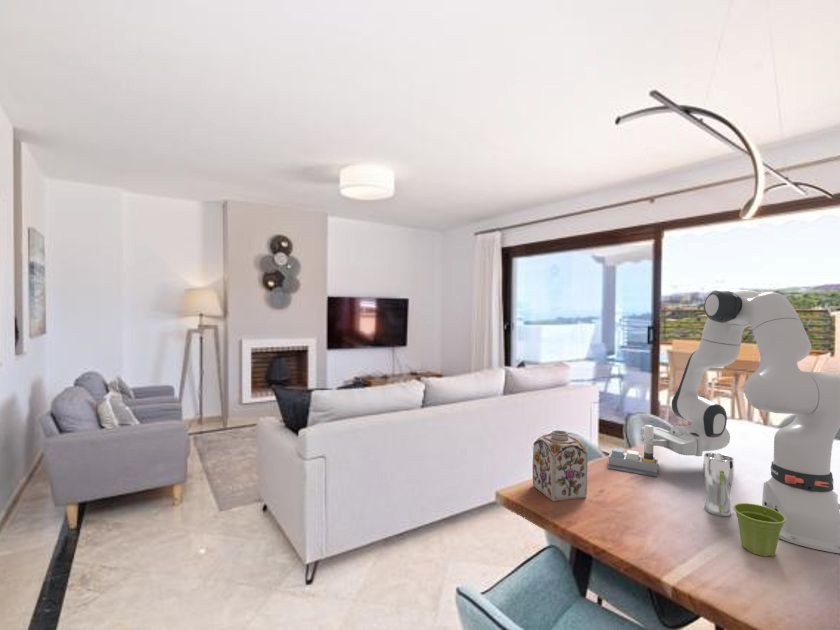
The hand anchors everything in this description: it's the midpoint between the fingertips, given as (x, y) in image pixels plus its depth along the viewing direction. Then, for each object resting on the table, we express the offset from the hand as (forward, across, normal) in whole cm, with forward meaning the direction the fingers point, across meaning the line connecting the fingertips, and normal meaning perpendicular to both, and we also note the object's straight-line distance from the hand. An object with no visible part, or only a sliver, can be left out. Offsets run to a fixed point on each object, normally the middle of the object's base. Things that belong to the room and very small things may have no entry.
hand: (646, 440), depth 148 cm
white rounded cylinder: (-1, 0, +6) cm, 6 cm away
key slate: (+7, -6, +8) cm, 12 cm away
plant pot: (+8, +48, +10) cm, 50 cm away
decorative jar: (+38, +12, +10) cm, 41 cm away
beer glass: (+1, +30, +10) cm, 32 cm away
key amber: (-1, 0, +9) cm, 9 cm away
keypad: (+3, -3, +10) cm, 11 cm away
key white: (+3, -3, +8) cm, 9 cm away
